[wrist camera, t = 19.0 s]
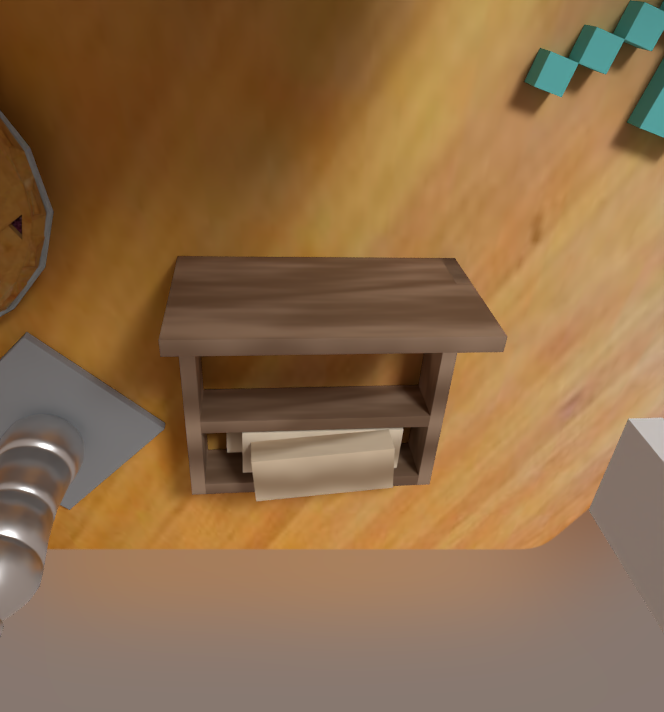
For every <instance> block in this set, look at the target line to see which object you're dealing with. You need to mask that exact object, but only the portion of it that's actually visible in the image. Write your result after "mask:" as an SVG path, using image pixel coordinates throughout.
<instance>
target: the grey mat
mask: <svg viewBox="0 0 664 712" xmlns="http://www.w3.org/2000/svg"><path fill="white" fill-rule="evenodd" d="M37 414H47V415H53V416H57V417H60V418H62V419H64V420H66V421H68V422H69V423H71V424H72V425H73V426H74V427H75V428H76V429H77V430H78V432H79V433H80V435H81V437H82V438H83V441H84V459H83V463H82V466H81V467H80V469H79V471H78V473H77V475H76V476H75V478H74V480H73V481H72V483H71V484H70V485H69V487H68V489H67V491H66V493H65V495H64V497H63V499H62V501H61V503H60V505H61V506H63V507H65V508H67V509H69V510H70V509H71V508H72V507H73V506H74V505H76V504H77V503H78V502H79V501H80V500H81V499H83V498H84V497H85V496H86V495H87V494H88V493H90V492H91V491H92V490H93V489H94V488H96V487H97V486H98V485H99V484H100V483H101V482H103V481H104V480H105V479H106V478H107V477H108V476H110V475H111V474H112V473H113V472H114V471H116V470H117V469H118V468H119V467H120V466H121V465H123V464H124V463H125V462H126V461H127V460H129V459H130V458H131V457H132V456H133V455H134V454H136V453H137V452H138V451H139V450H140V449H141V448H143V447H144V446H145V445H146V444H147V443H149V442H150V441H151V440H152V439H153V438H154V437H156V436H157V435H158V434H159V433H160V432H161V431H163V430H164V428H165V423H164V422H163V421H161V420H160V419H158V418H157V417H155V416H154V415H152V414H151V413H149V412H147V411H146V410H144V409H143V408H141V407H140V406H138V405H137V404H135V403H134V402H132V401H131V400H129V399H128V398H126V397H125V396H123V395H122V394H120V393H119V392H117V391H116V390H114V389H113V388H111V387H110V386H108V385H107V384H105V383H104V382H102V381H100V380H99V379H97V378H96V377H94V376H93V375H91V374H90V373H88V372H87V371H85V370H84V369H82V368H81V367H79V366H78V365H76V364H75V363H73V362H72V361H70V360H69V359H67V358H66V357H64V356H63V355H61V354H60V353H58V352H57V351H55V350H53V349H52V348H50V347H49V346H47V345H46V344H44V343H43V342H41V341H40V340H38V339H37V338H35V337H34V336H32V335H31V334H29V333H28V332H26V333H25V334H24V335H23V336H22V337H21V338H20V339H19V341H18V342H17V343H16V344H15V345H14V346H13V347H12V348H11V349H10V350H9V351H8V352H7V353H6V354H5V355H4V356H3V357H2V358H1V359H0V440H1V438H2V436H3V435H4V434H5V433H6V431H7V430H8V429H9V428H10V427H11V426H12V425H13V424H14V423H15V422H16V421H18V420H20V419H22V418H25V417H28V416H32V415H37Z"/></svg>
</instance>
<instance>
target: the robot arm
mask: <svg viewBox="0 0 664 712" xmlns="http://www.w3.org/2000/svg"><path fill="white" fill-rule="evenodd" d="M589 511H590V513H591V515H592V516H593V518H594V520H595V521H596V523H597V524H598V526H599V528H600V530H601V531H602V533H603V534H604V536H605V538H606V539H607V541H608V543H609V544H610V546H611V548H612V549H613V551H614V553H615V554H616V556H617V557H618V559H619V561H620V562H621V564H622V566H623V567H624V569H625V571H626V572H627V574H628V576H629V577H630V579H631V580H632V582H633V584H634V585H635V587H636V589H637V590H638V592H639V594H640V595H641V597H642V598H643V600H644V602H645V603H646V605H647V607H648V608H649V610H650V612H651V613H652V615H653V617H654V618H655V620H656V621H657V623H658V625H659V626H660V628H661V630H662V631H663V633H664V419H663V418H635V419H628V421H627V423H626V425H625V428H624V430H623V432H622V435H621V437H620V439H619V442H618V444H617V446H616V449H615V451H614V453H613V455H612V458H611V460H610V462H609V465H608V467H607V469H606V472H605V474H604V476H603V478H602V481H601V483H600V485H599V488H598V490H597V492H596V495H595V497H594V499H593V502H592V504H591V506H590V508H589Z"/></svg>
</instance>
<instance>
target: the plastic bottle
mask: <svg viewBox="0 0 664 712" xmlns="http://www.w3.org/2000/svg"><path fill="white" fill-rule="evenodd" d="M83 459H84V441H83V438H82V437H81V435H80V433H79V432H78V430H77V429H76V428H75V427H74V426H73V425H72V424H71V423H69V422H68V421H66V420H64V419H62V418H60V417H57V416H53V415H47V414H37V415H32V416H28V417H25V418H22V419H20V420H18V421H16V422H15V423H14V424H13V425H12V426H11V427H10V428H9V429H8V430H7V431H6V433H5V434H4V435H3V436H2V438H1V440H0V636H1V634H2V631H3V627H4V626H3V622H2V621H4V620H5V619H6V618H8V617H10V616H11V615H13V614H14V613H15V612H17V611H18V610H19V609H20V608H22V607H23V606H24V605H25V604H26V603H27V602H28V601H29V600H30V599H31V598H32V596H33V595H34V594H35V592H36V591H37V589H38V588H39V586H40V582H41V578H42V575H43V570H44V564H45V558H46V552H47V546H48V540H49V536H50V533H51V529H52V526H53V521H54V519H55V515H56V512H57V509H58V507H59V505H60V503H61V501H62V499H63V497H64V495H65V493H66V491H67V489H68V487H69V485H70V484H71V483H72V481H73V480H74V478H75V476H76V475H77V473H78V471H79V469H80V467H81V466H82V463H83Z"/></svg>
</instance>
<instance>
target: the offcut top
mask: <svg viewBox="0 0 664 712" xmlns="http://www.w3.org/2000/svg"><path fill="white" fill-rule="evenodd" d="M394 454H395V448H394V444H393V441H392V438H391V434H390V431H389V429H386V430H375V431H365V432H354V433H343V434H332V435H321V436H310V437H300V438H289V439H278V440H267V441H256V442H251V464H252V472H253V480H254V488H255V496H256V501H264V500H274V499H283V498H293V497H303V496H313V495H323V494H333V493H343V492H353V491H363V490H373V489H383V488H393V473H394Z"/></svg>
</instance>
